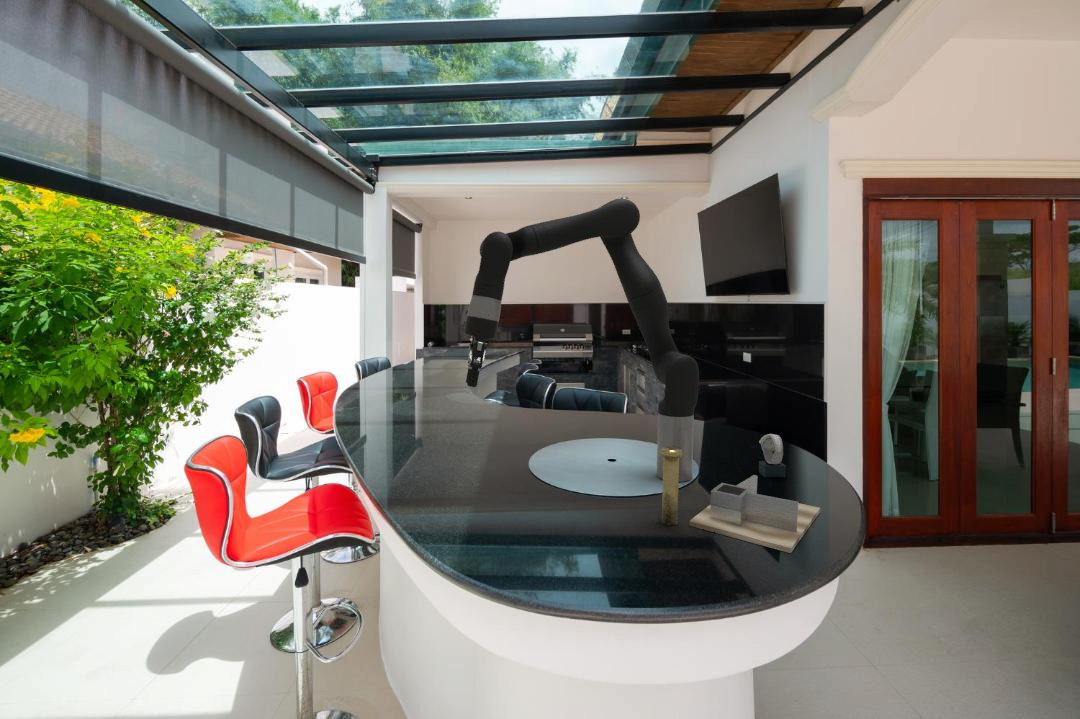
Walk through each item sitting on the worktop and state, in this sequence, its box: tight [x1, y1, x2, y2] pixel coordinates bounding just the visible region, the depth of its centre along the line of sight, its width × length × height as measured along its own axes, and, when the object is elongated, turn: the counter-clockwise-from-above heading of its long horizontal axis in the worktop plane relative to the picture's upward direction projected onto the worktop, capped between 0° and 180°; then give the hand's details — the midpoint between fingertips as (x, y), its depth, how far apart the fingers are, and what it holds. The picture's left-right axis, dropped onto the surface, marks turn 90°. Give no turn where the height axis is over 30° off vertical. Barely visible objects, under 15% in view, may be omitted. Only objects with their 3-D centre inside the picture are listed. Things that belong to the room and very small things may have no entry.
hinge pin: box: [661, 447, 682, 526], centre depth 114 cm, size 4×4×16 cm
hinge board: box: [688, 502, 821, 554], centre depth 117 cm, size 25×20×1 cm
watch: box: [758, 433, 787, 478], centre depth 146 cm, size 6×8×11 cm
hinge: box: [709, 474, 799, 532], centre depth 116 cm, size 16×16×6 cm
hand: (470, 385), depth 127 cm, fingers open, 8 cm apart
